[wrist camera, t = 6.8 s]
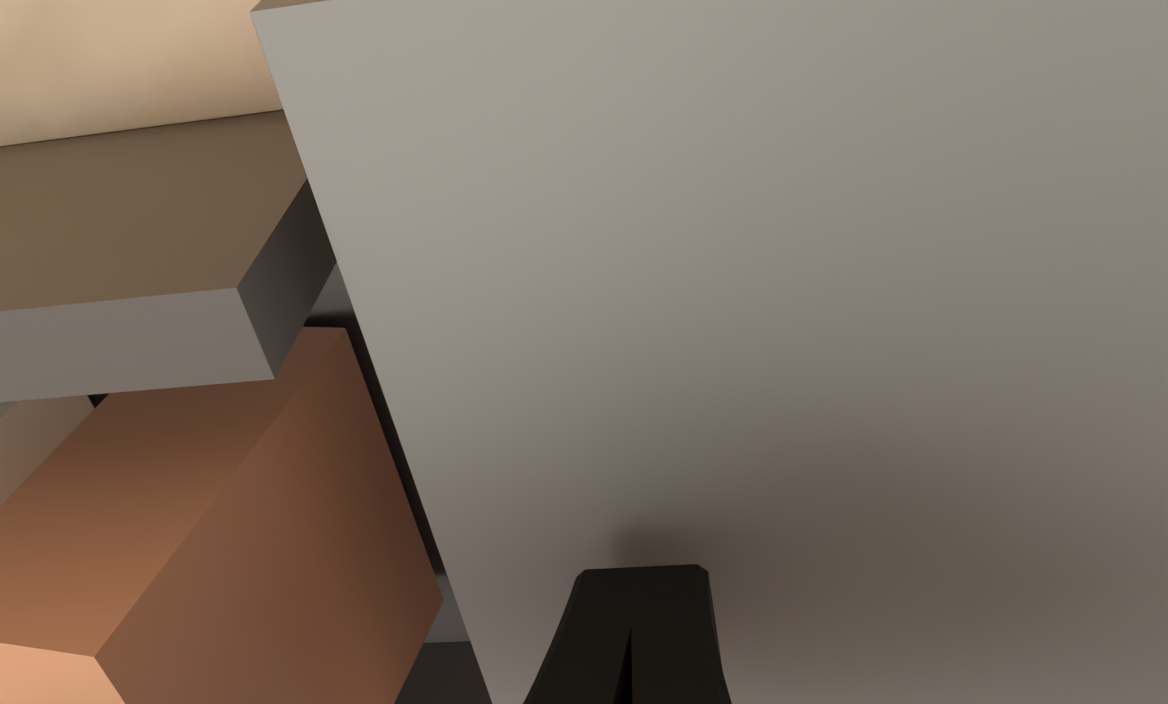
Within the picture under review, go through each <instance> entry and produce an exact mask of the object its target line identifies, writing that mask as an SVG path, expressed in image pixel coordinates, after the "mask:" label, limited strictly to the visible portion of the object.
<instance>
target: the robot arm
mask: <svg viewBox="0 0 1168 704" xmlns="http://www.w3.org/2000/svg"><path fill="white" fill-rule="evenodd" d="M523 704H732V702H731V699H730V695H729V692H728V688H727V685H726V681H725V678H724V674H723V669H722V662H721V656H720V649H719V642H718V635H717V628H716V621H715V614H714V607H713V600H712V593H711V587H710V580H709V573H708V571H707V570H705V569H704V568H702V567H701V566H699V565H698V564H687V565H666V566H645V567H624V568H604V569H585V570H583V571H582V572H581V573H580V574H579V575H578V576H577V577H576V579H575V582H574V585H573V588H572V591H571V593H570V596H569V599H568V602H567V604H566V607H565V610H564V612H563V615H562V617H561V620H560V622H559V625H558V627H557V630H556V632H555V635H554V637H553V639H552V642H551V644H550V647H549V649H548V651H547V653H546V656H545V658H544V660H543V662H542V665H541V667H540V669H539V671H538V673H537V676H536V678H535V680H534V682H533V684H532V687H531V689H530V691H529V693H528V695H527V697H526V699H525V701H524V703H523Z"/></svg>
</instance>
